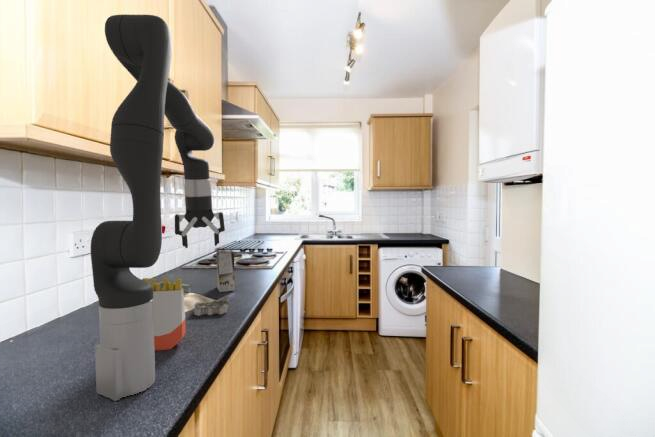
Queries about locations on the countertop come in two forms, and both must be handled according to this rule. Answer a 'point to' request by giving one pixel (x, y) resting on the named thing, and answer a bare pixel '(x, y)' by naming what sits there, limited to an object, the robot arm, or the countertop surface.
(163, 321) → the french fries container
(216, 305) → the grey irregular chunky piece
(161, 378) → the countertop surface
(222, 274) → the coffee box
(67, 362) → the countertop surface
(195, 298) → the beige and grey tray
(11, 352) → the countertop surface
